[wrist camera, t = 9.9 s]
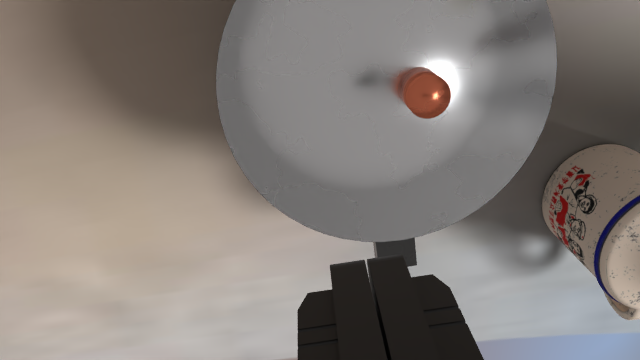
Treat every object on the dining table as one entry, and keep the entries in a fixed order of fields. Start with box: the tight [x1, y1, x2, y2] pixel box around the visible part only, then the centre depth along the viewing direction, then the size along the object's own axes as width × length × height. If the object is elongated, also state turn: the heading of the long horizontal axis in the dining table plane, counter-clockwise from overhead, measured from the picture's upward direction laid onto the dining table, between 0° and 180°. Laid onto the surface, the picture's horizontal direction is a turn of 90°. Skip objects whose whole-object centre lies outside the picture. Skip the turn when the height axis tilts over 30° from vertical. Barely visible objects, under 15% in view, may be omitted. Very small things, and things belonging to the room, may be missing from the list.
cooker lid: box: [216, 0, 557, 242], centre depth 25 cm, size 17×17×3 cm
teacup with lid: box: [542, 144, 640, 320], centre depth 36 cm, size 12×9×12 cm
